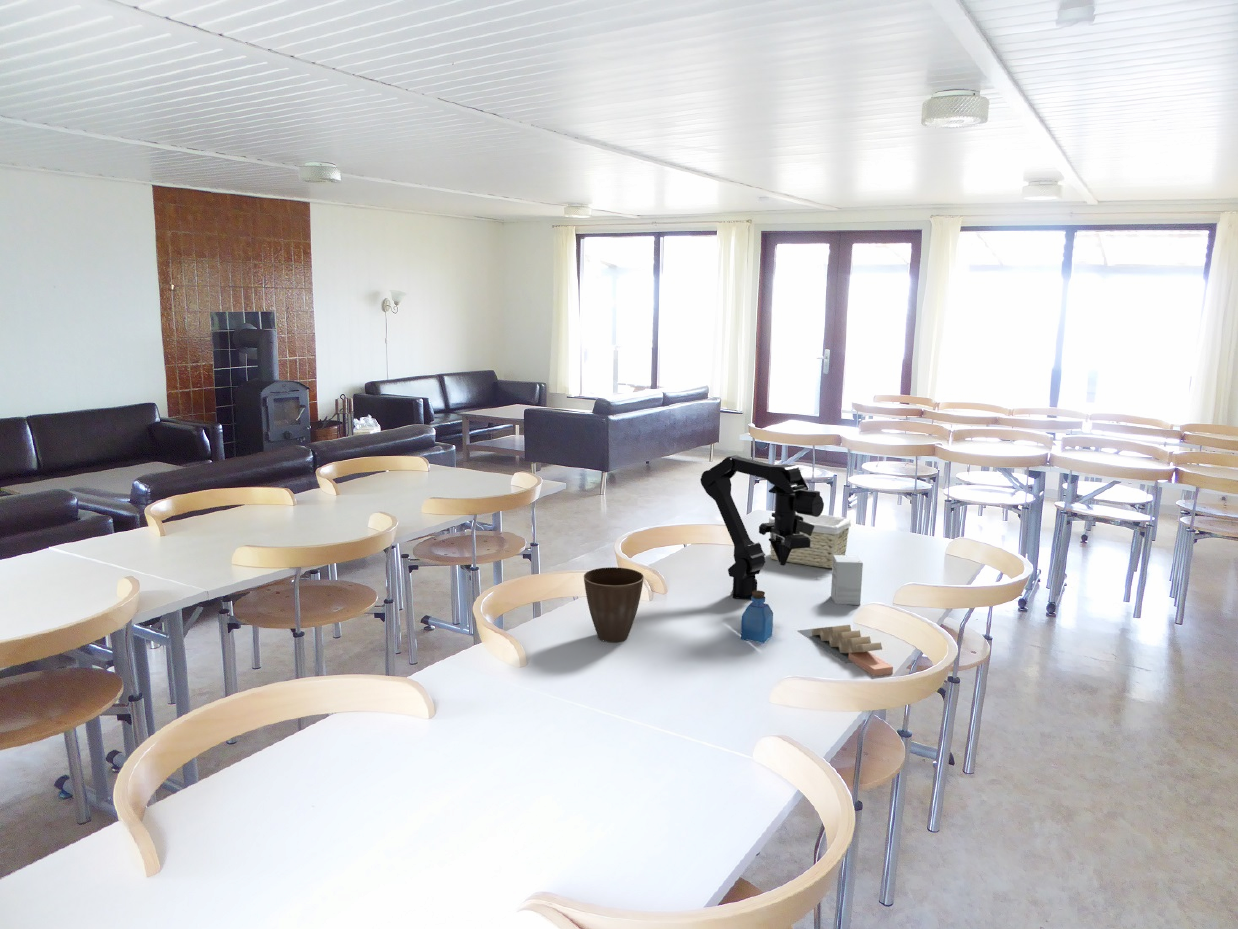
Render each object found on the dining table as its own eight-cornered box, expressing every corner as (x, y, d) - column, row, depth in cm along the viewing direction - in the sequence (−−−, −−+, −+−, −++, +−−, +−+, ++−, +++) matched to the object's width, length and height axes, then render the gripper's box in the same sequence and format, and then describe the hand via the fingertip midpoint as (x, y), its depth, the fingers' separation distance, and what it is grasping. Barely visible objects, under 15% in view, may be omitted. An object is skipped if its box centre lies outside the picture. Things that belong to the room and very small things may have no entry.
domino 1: (811, 629, 215) (832, 626, 206) (828, 627, 217) (850, 624, 208) (812, 635, 215) (833, 633, 206) (829, 633, 216) (851, 631, 207)
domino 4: (838, 646, 204) (862, 644, 195) (856, 644, 205) (880, 642, 196) (839, 653, 203) (863, 651, 194) (857, 650, 205) (882, 649, 196)
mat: (797, 631, 218) (797, 630, 218) (827, 628, 221) (827, 627, 221) (845, 664, 198) (846, 663, 198) (878, 660, 201) (878, 659, 201)
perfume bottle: (740, 639, 212) (742, 593, 210) (748, 631, 218) (750, 587, 216) (764, 644, 210) (766, 597, 207) (772, 636, 215) (774, 591, 213)
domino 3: (829, 640, 208) (851, 638, 199) (846, 638, 209) (869, 636, 200) (830, 647, 207) (852, 645, 198) (847, 644, 209) (871, 643, 200)
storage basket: (764, 559, 284) (766, 517, 282) (782, 549, 298) (784, 508, 295) (834, 571, 272) (837, 527, 269) (849, 560, 285) (852, 517, 283)
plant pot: (636, 651, 204) (637, 587, 201) (576, 645, 207) (577, 582, 204) (646, 629, 218) (648, 569, 215) (590, 624, 221) (591, 565, 218)
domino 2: (820, 634, 212) (841, 632, 202) (837, 632, 213) (859, 630, 204) (821, 641, 211) (843, 639, 202) (838, 639, 213) (860, 637, 204)
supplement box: (855, 597, 246) (858, 555, 244) (860, 605, 239) (863, 562, 237) (830, 596, 247) (832, 554, 245) (833, 604, 240) (836, 561, 238)
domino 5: (848, 652, 200) (874, 669, 191) (866, 650, 202) (893, 666, 192) (848, 659, 200) (873, 676, 191) (866, 656, 202) (892, 673, 192)
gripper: (829, 516, 227) (826, 572, 229) (793, 502, 244) (790, 554, 247) (792, 518, 223) (789, 575, 226) (759, 504, 240) (756, 557, 243)
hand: (782, 565), depth 235 cm, fingers closed
